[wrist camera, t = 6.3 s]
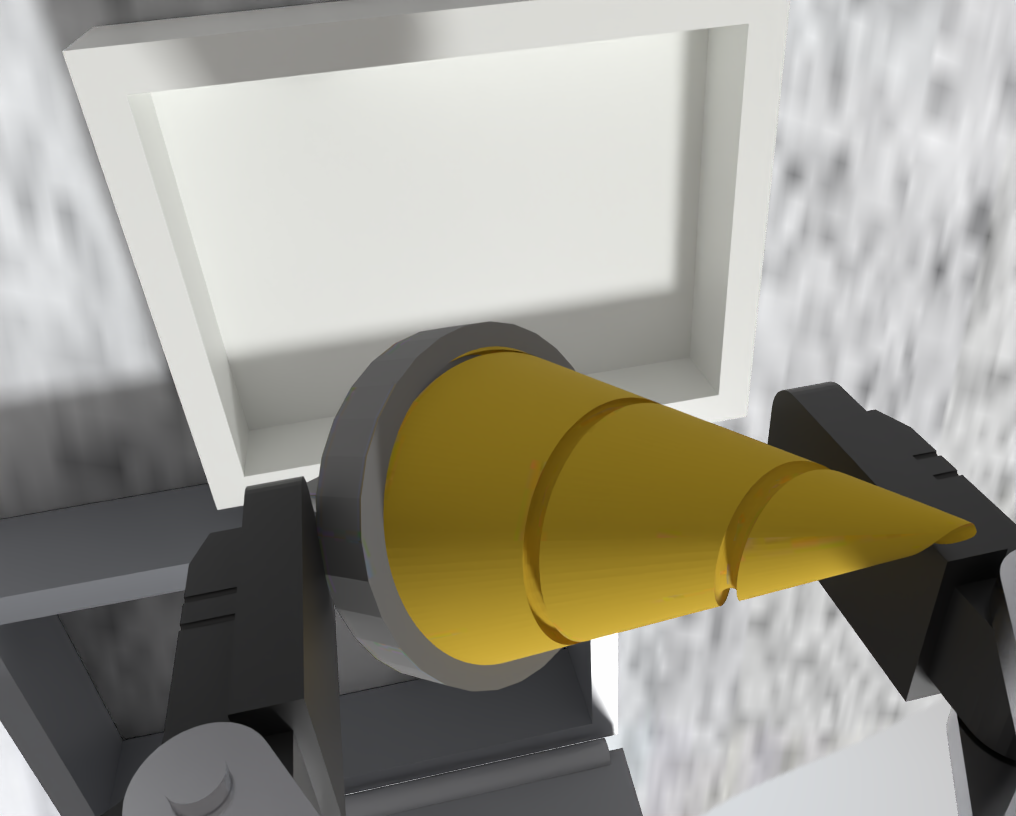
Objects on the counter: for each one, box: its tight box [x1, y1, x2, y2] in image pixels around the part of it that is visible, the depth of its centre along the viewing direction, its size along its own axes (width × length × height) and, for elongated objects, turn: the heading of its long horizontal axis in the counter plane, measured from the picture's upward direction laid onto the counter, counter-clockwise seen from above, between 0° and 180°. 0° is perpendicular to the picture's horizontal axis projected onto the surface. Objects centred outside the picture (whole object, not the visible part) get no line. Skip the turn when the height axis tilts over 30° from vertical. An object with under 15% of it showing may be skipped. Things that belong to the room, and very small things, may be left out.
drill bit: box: [306, 321, 977, 691], centre depth 12 cm, size 5×5×10 cm
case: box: [0, 484, 618, 816], centre depth 24 cm, size 16×10×3 cm, turn 93°
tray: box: [62, 0, 790, 510], centre depth 19 cm, size 13×10×2 cm
